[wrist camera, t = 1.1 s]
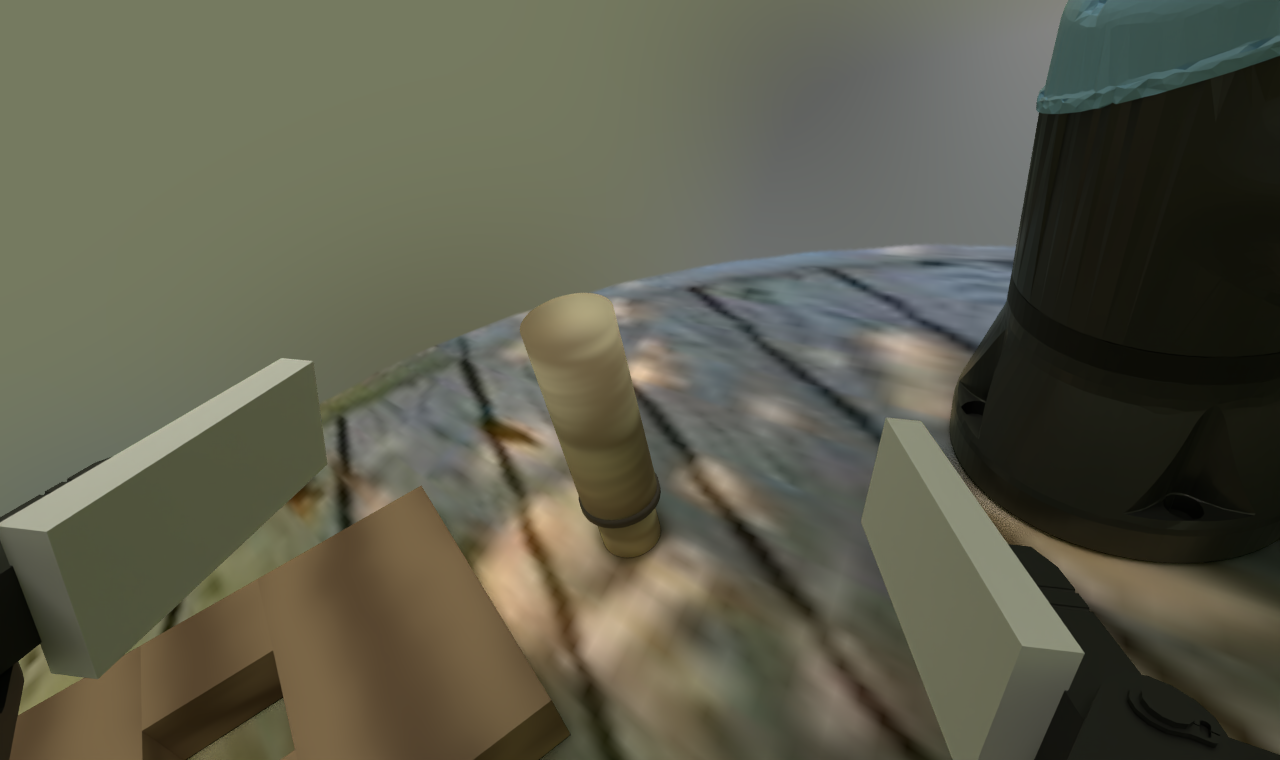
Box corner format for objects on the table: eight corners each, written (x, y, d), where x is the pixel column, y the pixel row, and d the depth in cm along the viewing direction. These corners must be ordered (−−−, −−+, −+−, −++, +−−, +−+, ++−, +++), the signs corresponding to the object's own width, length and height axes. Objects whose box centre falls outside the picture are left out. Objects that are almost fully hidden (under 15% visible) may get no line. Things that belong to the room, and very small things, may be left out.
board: (440, 519, 39) (421, 485, 37) (570, 734, 27) (551, 700, 26) (-33, 802, 30) (-88, 776, 28) (-133, 1292, 19) (-237, 1299, 17)
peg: (640, 492, 38) (583, 281, 29) (685, 534, 35) (635, 313, 26) (580, 532, 36) (501, 322, 28) (621, 579, 33) (546, 361, 25)
